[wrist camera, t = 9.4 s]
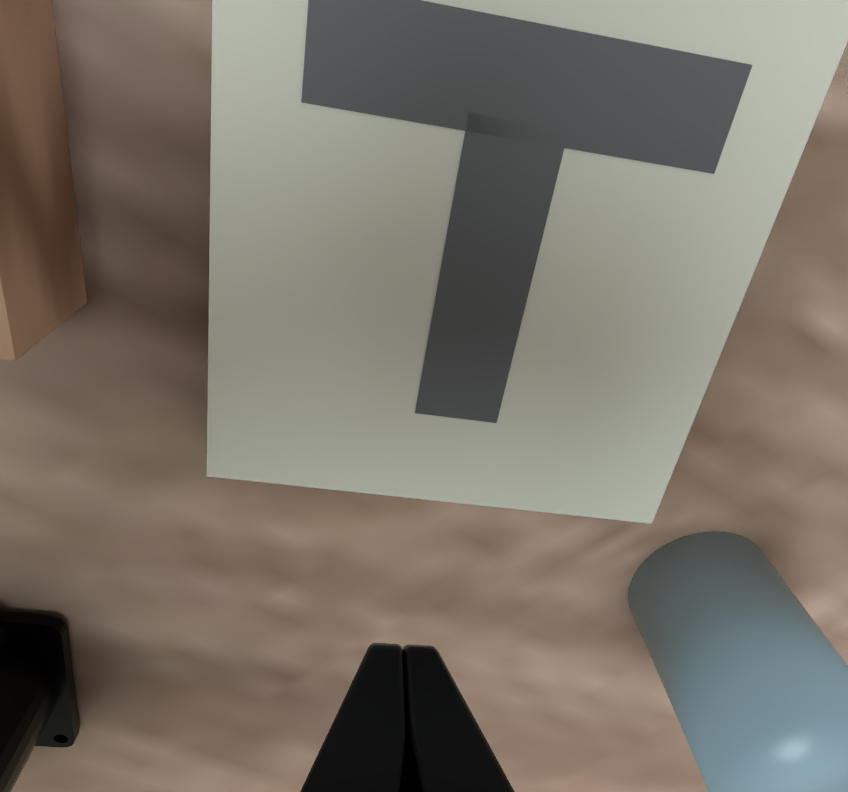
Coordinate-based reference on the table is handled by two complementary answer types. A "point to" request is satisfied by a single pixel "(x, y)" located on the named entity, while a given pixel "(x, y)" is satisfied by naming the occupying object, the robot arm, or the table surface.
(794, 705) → the blue cylinder
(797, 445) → the table surface
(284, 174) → the letter board
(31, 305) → the terracotta block
